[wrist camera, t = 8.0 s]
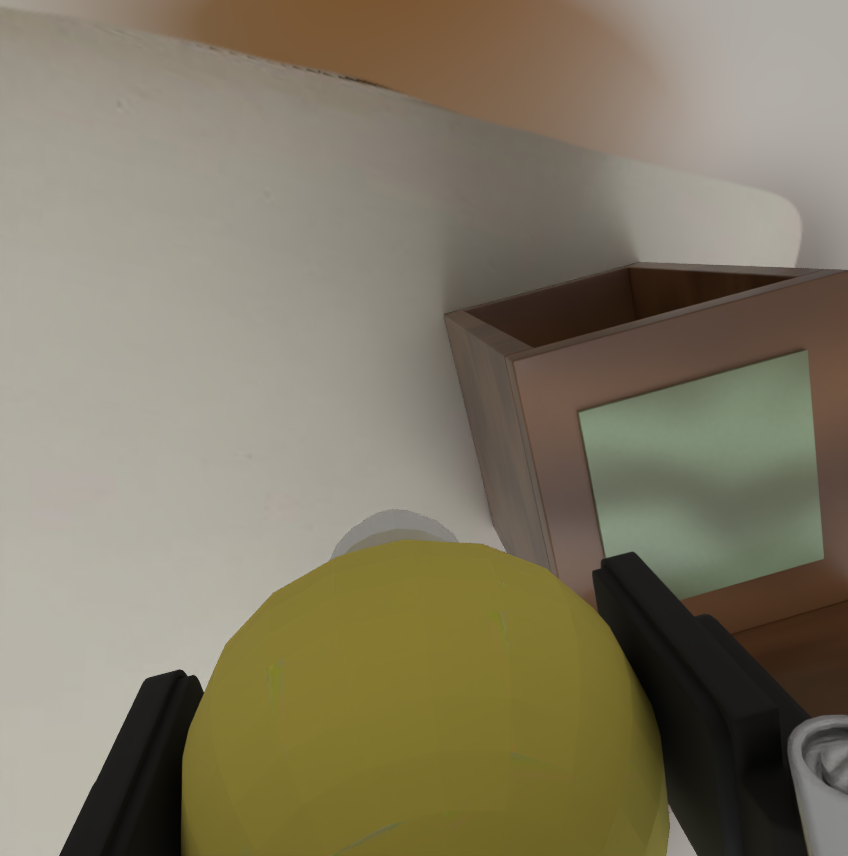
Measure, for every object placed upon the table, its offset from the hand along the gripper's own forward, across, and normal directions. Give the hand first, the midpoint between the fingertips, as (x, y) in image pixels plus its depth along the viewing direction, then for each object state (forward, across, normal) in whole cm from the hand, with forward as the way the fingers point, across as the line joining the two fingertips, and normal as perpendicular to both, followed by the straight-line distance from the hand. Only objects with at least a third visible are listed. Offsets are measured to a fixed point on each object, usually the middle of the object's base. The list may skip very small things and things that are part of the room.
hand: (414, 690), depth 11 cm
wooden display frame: (+31, -12, +5) cm, 34 cm away
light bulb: (+5, 0, 0) cm, 5 cm away
